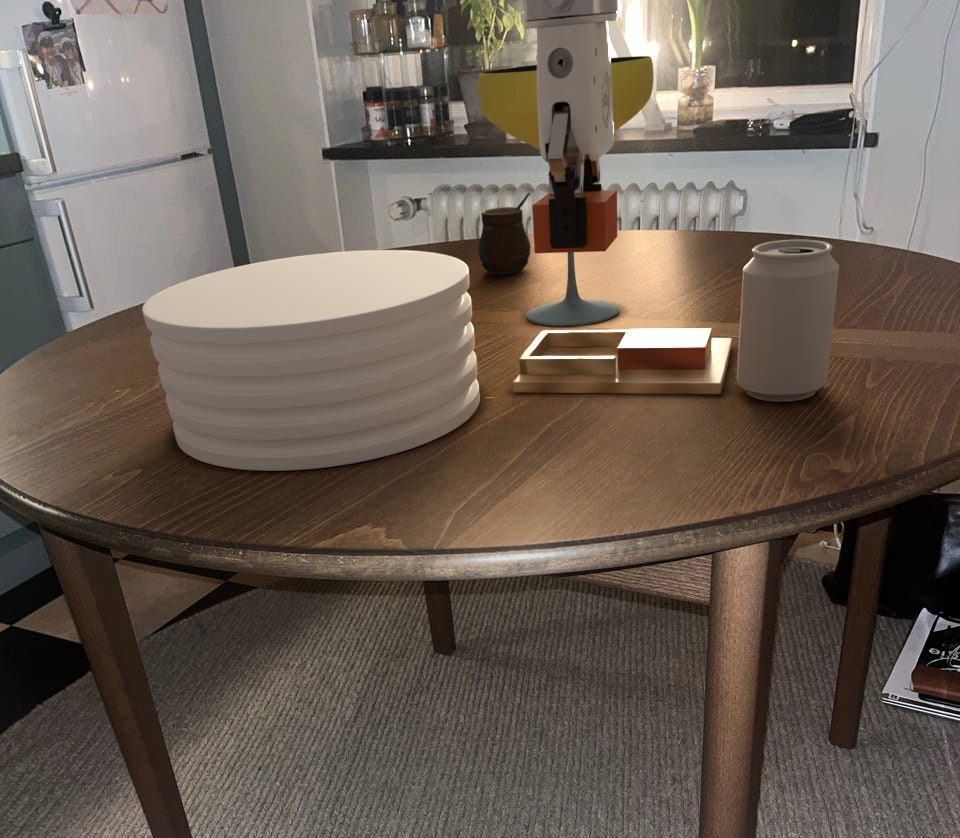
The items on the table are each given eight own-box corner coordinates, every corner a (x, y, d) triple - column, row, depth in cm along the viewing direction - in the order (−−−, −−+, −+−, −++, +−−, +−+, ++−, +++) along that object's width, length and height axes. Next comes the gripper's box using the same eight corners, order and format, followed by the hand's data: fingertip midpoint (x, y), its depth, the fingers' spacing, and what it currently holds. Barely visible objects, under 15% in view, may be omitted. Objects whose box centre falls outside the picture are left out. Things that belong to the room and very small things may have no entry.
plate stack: (542, 395, 89) (536, 263, 83) (291, 499, 73) (260, 347, 67) (355, 352, 107) (338, 241, 101) (121, 428, 91) (84, 303, 85)
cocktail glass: (679, 300, 114) (685, 52, 101) (599, 341, 102) (594, 66, 89) (550, 290, 124) (540, 63, 110) (464, 327, 112) (441, 77, 99)
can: (837, 382, 85) (853, 236, 79) (809, 409, 80) (824, 256, 74) (754, 373, 89) (764, 234, 83) (722, 399, 84) (729, 253, 78)
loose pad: (617, 236, 90) (617, 190, 88) (605, 251, 85) (605, 202, 83) (550, 239, 92) (548, 193, 90) (534, 253, 87) (532, 205, 85)
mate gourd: (480, 268, 139) (474, 192, 133) (533, 264, 138) (529, 187, 133) (478, 279, 132) (472, 200, 127) (534, 275, 132) (530, 195, 127)
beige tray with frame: (731, 347, 96) (733, 317, 95) (720, 394, 85) (722, 360, 84) (546, 348, 102) (545, 319, 100) (513, 392, 90) (511, 360, 89)
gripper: (597, -1, 71) (601, 259, 80) (633, -1, 85) (632, 220, 94) (498, 9, 73) (513, 261, 82) (548, 7, 87) (556, 222, 96)
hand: (576, 237), depth 88 cm, fingers closed on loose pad, 6 cm apart
